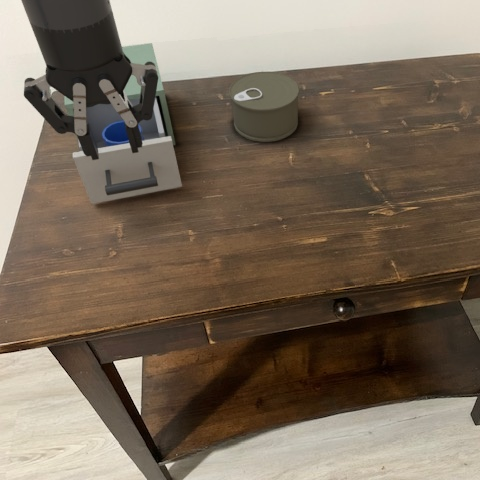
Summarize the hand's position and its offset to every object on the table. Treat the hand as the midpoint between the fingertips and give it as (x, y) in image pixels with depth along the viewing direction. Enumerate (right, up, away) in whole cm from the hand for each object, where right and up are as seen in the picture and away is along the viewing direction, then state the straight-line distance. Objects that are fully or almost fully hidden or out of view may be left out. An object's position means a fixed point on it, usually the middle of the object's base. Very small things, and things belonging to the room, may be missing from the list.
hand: (115, 151), depth 63 cm
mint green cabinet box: (-10, +10, +32) cm, 35 cm away
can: (+14, +11, +34) cm, 38 cm away
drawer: (-5, 0, +22) cm, 22 cm away
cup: (-6, +2, +22) cm, 23 cm away
